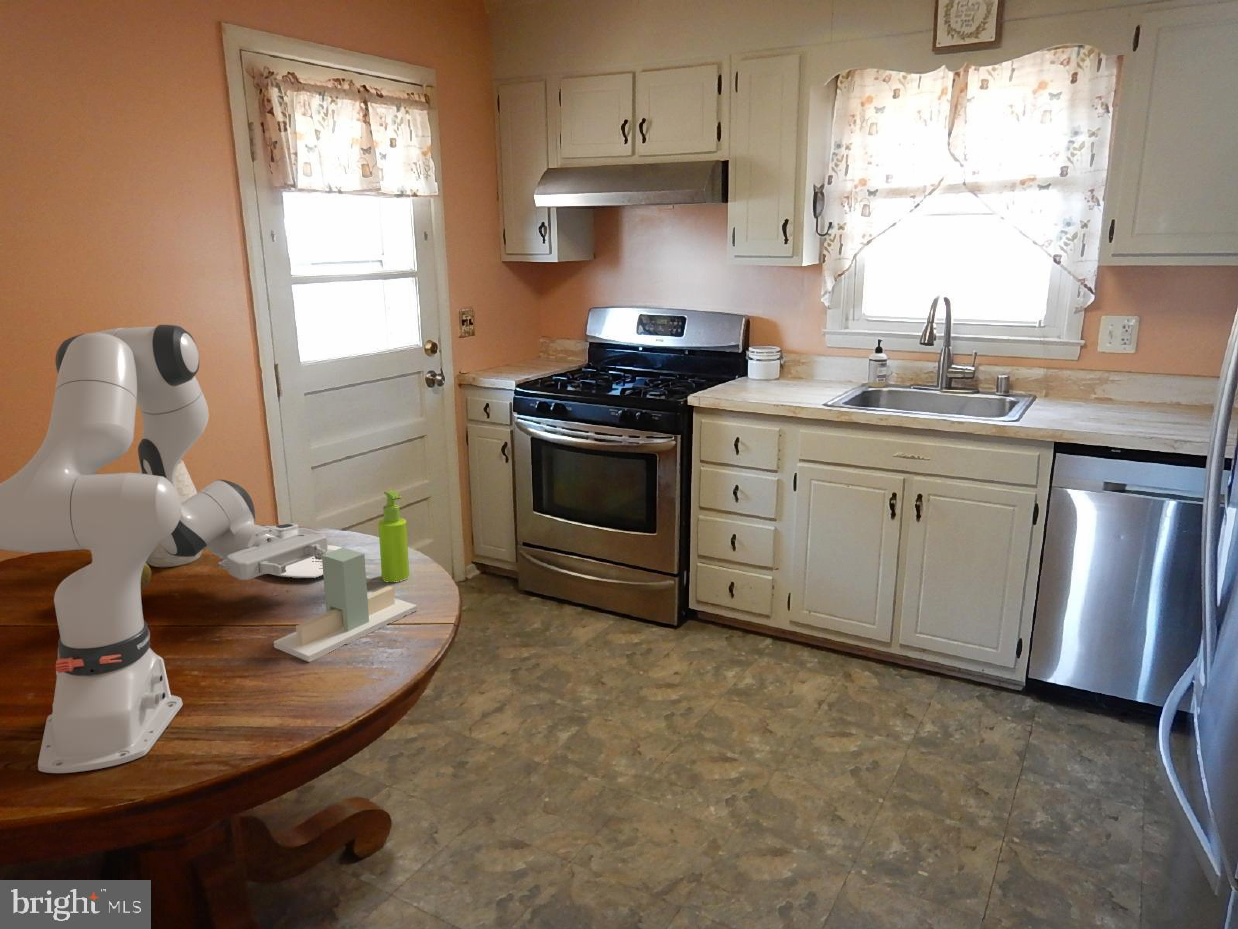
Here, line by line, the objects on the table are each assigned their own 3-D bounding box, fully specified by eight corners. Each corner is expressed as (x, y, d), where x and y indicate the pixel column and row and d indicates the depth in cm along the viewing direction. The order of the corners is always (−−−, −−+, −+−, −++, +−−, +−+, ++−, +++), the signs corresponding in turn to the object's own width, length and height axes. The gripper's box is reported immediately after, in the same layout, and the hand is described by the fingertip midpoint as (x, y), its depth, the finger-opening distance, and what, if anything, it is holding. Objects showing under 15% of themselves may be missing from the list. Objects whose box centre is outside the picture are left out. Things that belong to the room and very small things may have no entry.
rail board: (309, 662, 152) (307, 638, 150) (274, 647, 157) (271, 624, 156) (417, 610, 173) (416, 589, 171) (383, 599, 178) (381, 578, 177)
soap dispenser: (389, 586, 184) (384, 498, 179) (377, 576, 190) (372, 490, 185) (415, 580, 188) (410, 493, 183) (403, 570, 193) (398, 486, 188)
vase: (208, 569, 193) (196, 471, 187) (122, 576, 189) (107, 475, 183) (221, 543, 209) (210, 452, 203) (142, 549, 205) (129, 456, 199)
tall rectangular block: (348, 631, 161) (342, 561, 157) (327, 623, 164) (321, 555, 160) (369, 621, 165) (364, 553, 161) (348, 614, 168) (343, 547, 164)
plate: (300, 548, 207) (299, 540, 207) (369, 558, 202) (368, 550, 201) (244, 577, 189) (243, 569, 189) (317, 588, 184) (317, 580, 183)
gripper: (211, 548, 166) (254, 563, 159) (300, 520, 183) (343, 533, 176) (214, 578, 168) (258, 594, 161) (302, 548, 185) (345, 561, 177)
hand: (303, 562), depth 168 cm, fingers open, 8 cm apart
